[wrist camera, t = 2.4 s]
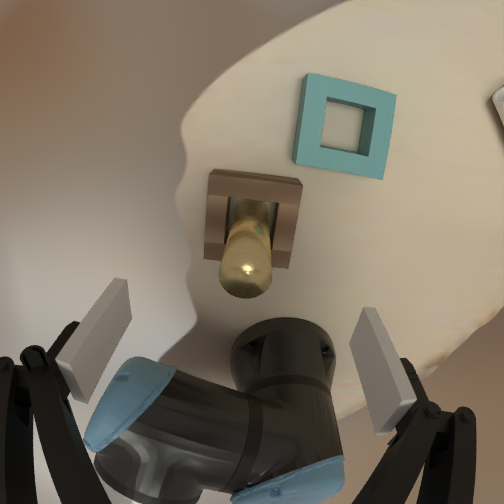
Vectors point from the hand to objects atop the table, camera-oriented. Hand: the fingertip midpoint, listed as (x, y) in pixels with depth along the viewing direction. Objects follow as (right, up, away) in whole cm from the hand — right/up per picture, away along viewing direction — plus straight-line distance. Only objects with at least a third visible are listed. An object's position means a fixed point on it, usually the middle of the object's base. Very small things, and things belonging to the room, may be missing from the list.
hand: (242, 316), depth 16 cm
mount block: (0, +8, +17) cm, 19 cm away
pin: (0, +8, +17) cm, 19 cm away
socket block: (+10, +17, +13) cm, 23 cm away
